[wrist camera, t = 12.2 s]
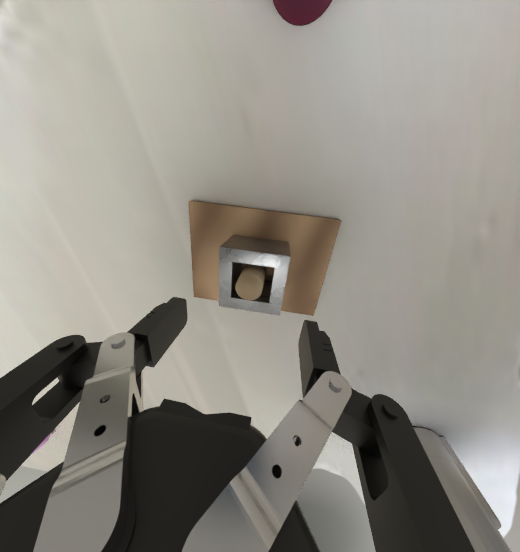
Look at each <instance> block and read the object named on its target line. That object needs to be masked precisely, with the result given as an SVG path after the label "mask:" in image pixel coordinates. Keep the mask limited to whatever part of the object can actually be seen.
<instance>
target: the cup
mask: <svg viewBox="0 0 520 552" xmlns="http://www.w3.org/2000/svg"><path fill="white" fill-rule="evenodd" d="M331 1H332V0H273V2H274V5H275V7H276V9H277V11H278V13H279V14H280V15H281V16H282V17H283V18H284V19H285V20H286V21H287V22H289V23H291V24H294V25H305V24H309V23H311V22H313V21H315V20H316V19H317V18H318V17H320V16H321V15H322V14H323V12H324V11H325V10H326V9H327V8H328V6H329V4H330V3H331Z"/></svg>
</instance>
